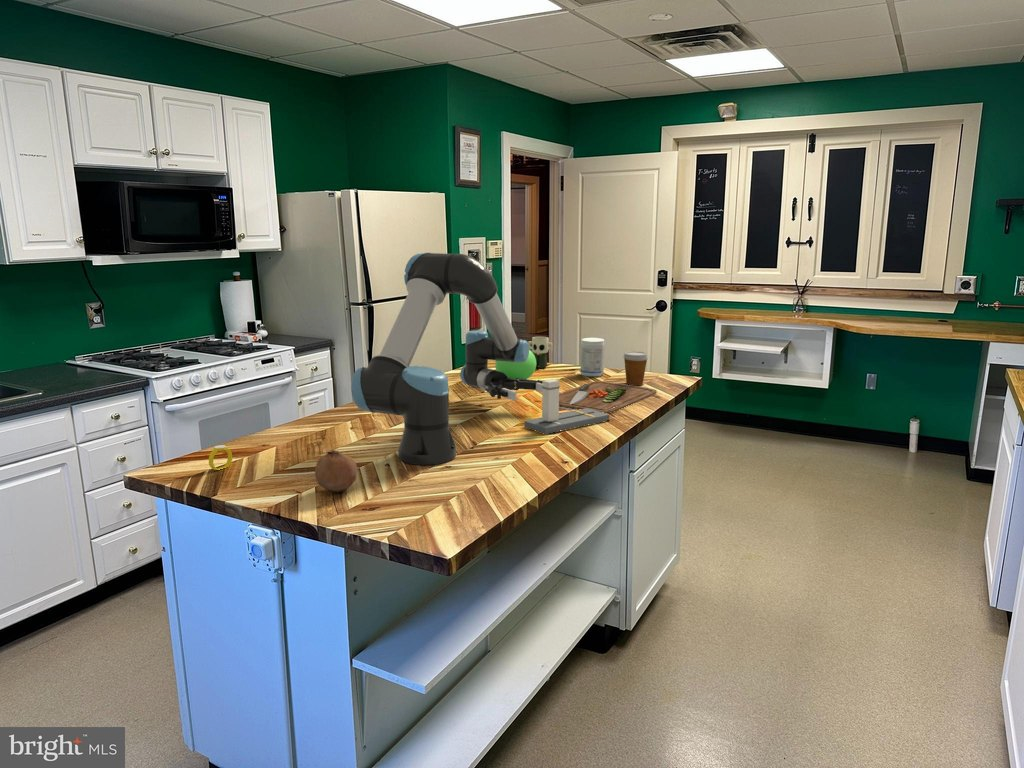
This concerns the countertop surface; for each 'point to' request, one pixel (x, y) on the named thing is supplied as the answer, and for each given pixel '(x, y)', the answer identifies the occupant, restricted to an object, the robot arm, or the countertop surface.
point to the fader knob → (550, 400)
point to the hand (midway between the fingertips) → (533, 393)
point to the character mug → (540, 350)
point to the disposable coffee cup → (635, 367)
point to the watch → (216, 449)
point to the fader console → (567, 421)
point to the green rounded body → (517, 367)
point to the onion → (336, 471)
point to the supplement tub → (592, 357)
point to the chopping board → (603, 396)
